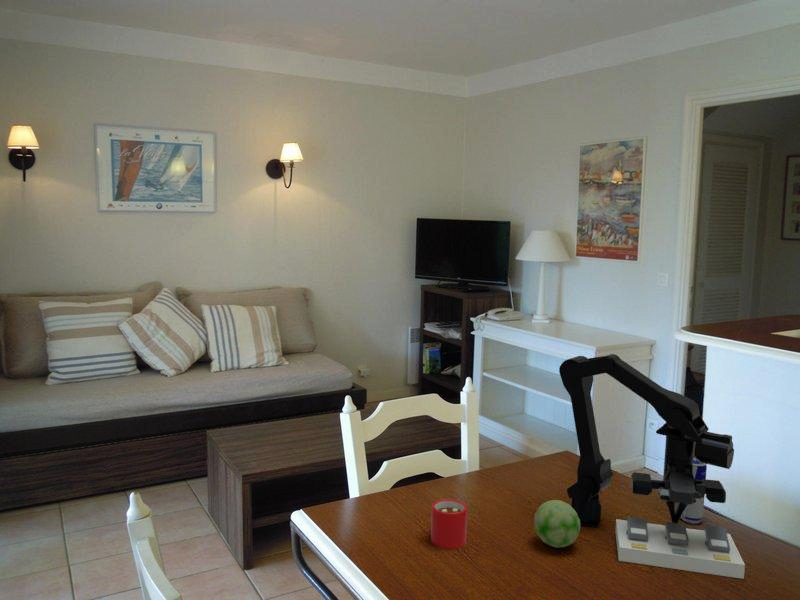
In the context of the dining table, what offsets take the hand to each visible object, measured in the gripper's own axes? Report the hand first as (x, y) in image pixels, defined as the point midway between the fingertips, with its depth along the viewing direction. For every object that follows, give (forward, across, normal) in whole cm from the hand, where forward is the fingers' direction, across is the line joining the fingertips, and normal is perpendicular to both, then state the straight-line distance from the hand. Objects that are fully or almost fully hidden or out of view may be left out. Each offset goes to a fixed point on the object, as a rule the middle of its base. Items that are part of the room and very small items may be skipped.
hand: (674, 523), depth 145 cm
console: (+5, 0, -4) cm, 6 cm away
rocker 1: (0, -8, -3) cm, 9 cm away
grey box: (0, 0, -4) cm, 4 cm away
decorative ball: (+5, -25, -8) cm, 27 cm away
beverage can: (+6, +6, +15) cm, 18 cm away
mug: (+4, -49, -10) cm, 50 cm away
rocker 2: (0, +8, -4) cm, 9 cm away
